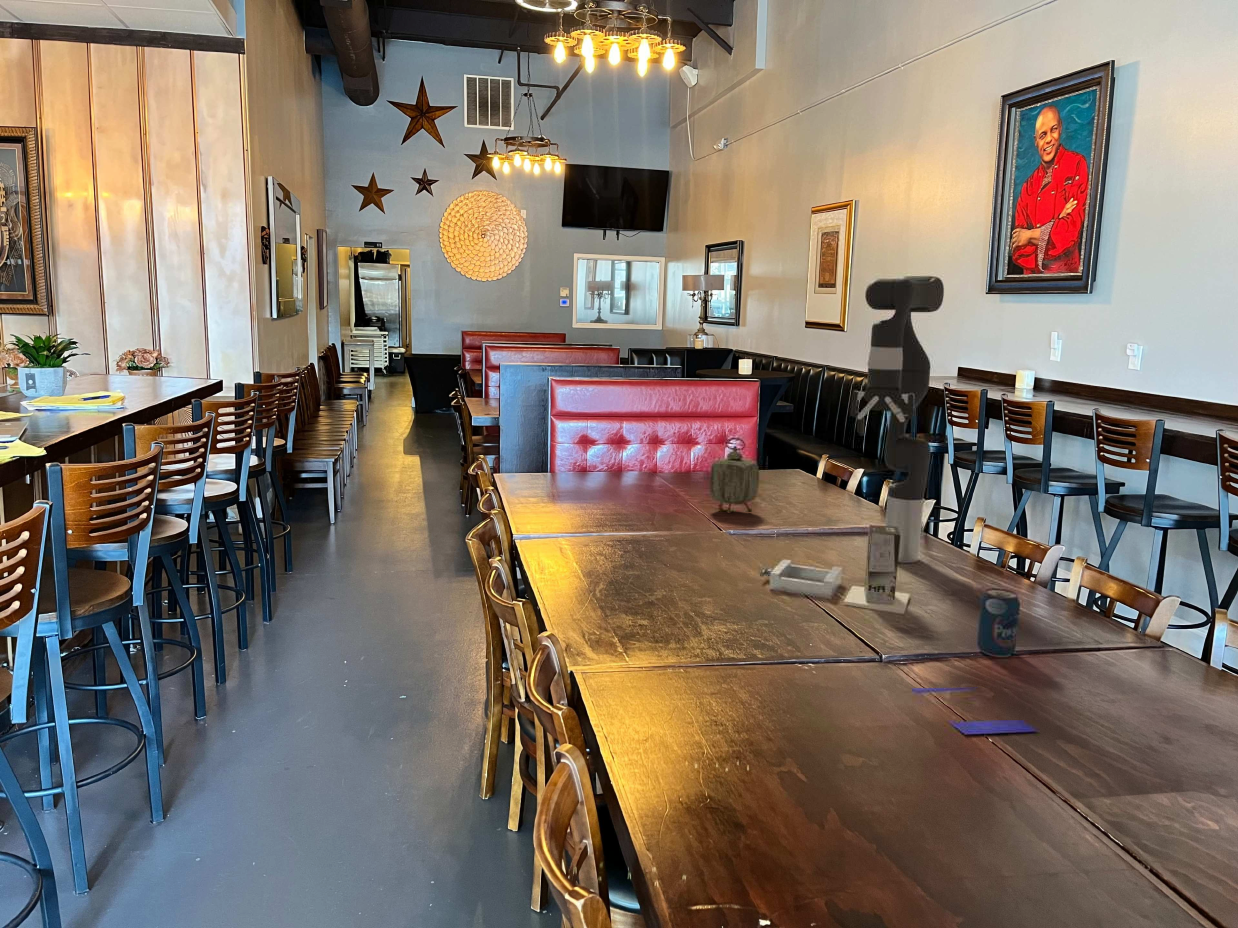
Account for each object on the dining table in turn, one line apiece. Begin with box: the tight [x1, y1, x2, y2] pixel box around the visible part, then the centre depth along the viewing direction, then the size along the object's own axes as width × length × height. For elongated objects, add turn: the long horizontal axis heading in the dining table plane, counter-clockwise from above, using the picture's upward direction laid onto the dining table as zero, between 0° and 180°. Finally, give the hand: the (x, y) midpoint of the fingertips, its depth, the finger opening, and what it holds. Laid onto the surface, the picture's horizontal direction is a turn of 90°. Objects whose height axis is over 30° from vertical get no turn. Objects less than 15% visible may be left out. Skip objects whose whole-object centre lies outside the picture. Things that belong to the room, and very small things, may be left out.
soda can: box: [976, 587, 1021, 658], centre depth 166 cm, size 7×7×12 cm
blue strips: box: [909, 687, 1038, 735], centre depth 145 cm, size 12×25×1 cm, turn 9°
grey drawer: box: [759, 559, 843, 599], centre depth 206 cm, size 13×18×4 cm
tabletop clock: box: [709, 437, 760, 513], centre depth 282 cm, size 14×9×25 cm, turn 58°
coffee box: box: [863, 524, 901, 605], centre depth 194 cm, size 9×6×16 cm
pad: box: [843, 585, 911, 615], centre depth 196 cm, size 13×13×1 cm
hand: (880, 436), depth 200 cm, fingers open, 8 cm apart
